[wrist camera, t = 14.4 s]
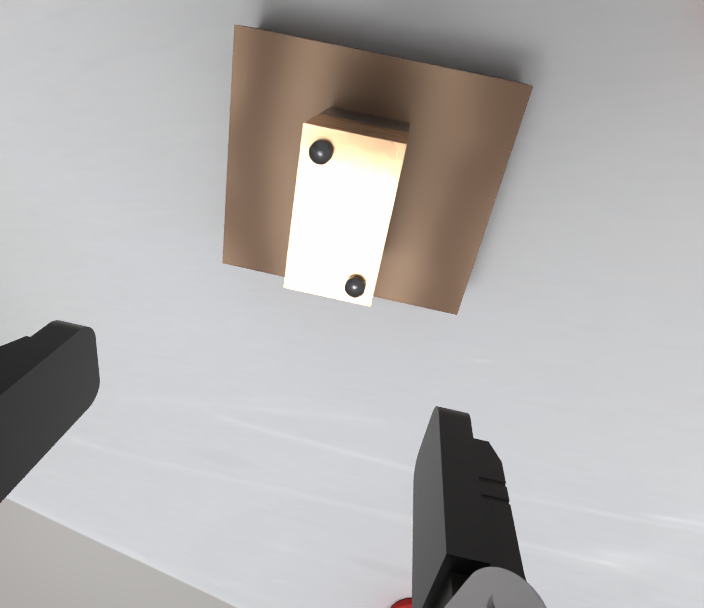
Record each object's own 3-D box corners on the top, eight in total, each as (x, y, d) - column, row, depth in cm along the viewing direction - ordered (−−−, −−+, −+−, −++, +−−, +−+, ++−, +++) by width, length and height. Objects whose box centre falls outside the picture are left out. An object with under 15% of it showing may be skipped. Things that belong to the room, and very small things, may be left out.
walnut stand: (242, 242, 35) (222, 263, 32) (257, 28, 29) (234, 24, 25) (453, 288, 35) (456, 314, 31) (519, 82, 28) (532, 86, 25)
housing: (330, 106, 26) (301, 124, 20) (410, 123, 26) (406, 146, 20) (311, 239, 30) (281, 290, 24) (380, 254, 30) (369, 310, 24)
